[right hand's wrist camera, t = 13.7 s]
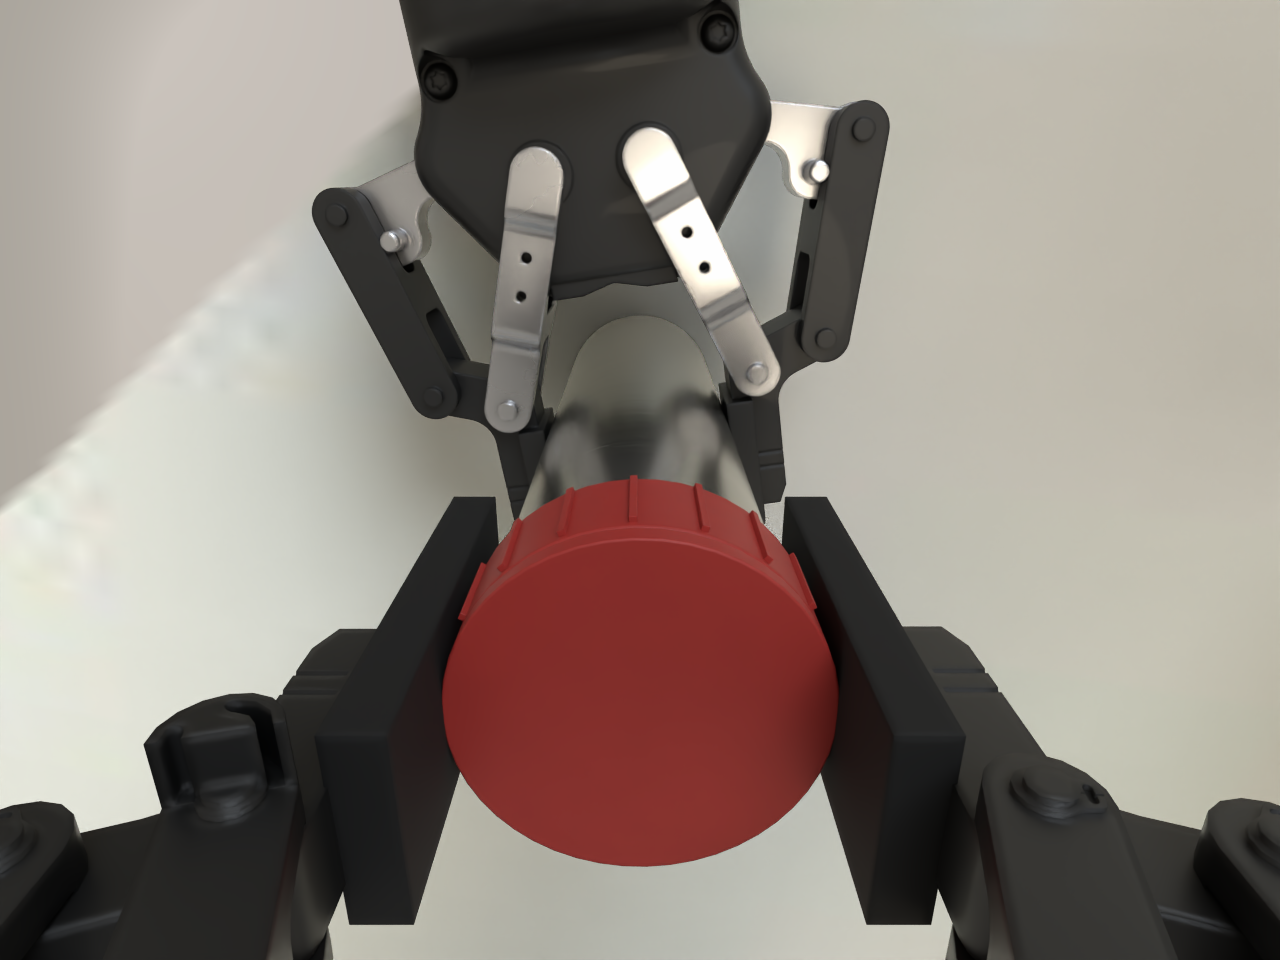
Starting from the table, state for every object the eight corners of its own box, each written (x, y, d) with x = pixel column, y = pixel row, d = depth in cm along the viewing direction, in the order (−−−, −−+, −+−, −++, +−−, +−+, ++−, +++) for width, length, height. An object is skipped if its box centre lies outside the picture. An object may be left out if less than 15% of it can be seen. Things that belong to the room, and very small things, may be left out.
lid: (558, 409, 11) (541, 459, 9) (880, 570, 12) (927, 647, 10) (415, 690, 13) (374, 783, 11) (705, 813, 14) (716, 918, 12)
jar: (610, 289, 26) (559, 478, 10) (734, 355, 27) (883, 635, 10) (548, 411, 28) (413, 755, 11) (667, 471, 29) (704, 873, 12)
